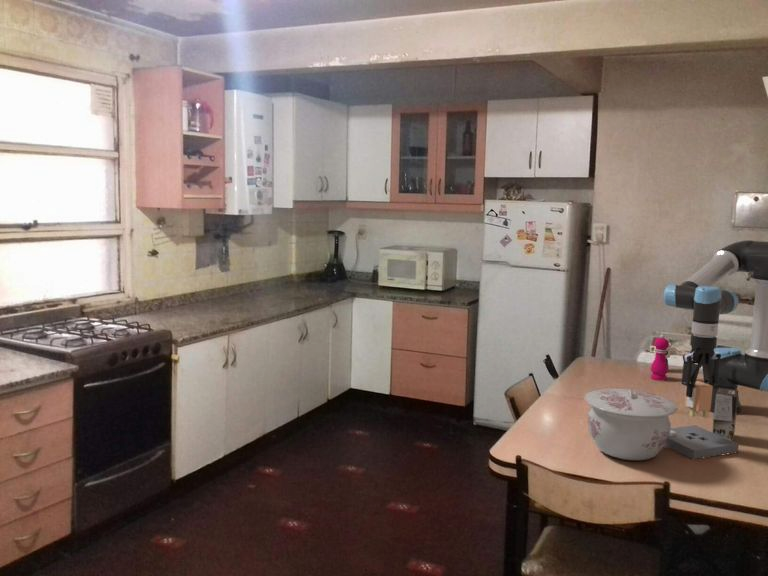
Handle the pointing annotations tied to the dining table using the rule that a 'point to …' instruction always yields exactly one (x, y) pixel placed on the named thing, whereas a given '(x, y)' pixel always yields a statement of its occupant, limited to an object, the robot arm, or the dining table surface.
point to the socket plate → (699, 442)
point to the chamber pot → (629, 422)
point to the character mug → (666, 353)
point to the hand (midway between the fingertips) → (697, 405)
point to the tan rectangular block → (701, 399)
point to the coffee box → (725, 413)
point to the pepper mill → (660, 359)
